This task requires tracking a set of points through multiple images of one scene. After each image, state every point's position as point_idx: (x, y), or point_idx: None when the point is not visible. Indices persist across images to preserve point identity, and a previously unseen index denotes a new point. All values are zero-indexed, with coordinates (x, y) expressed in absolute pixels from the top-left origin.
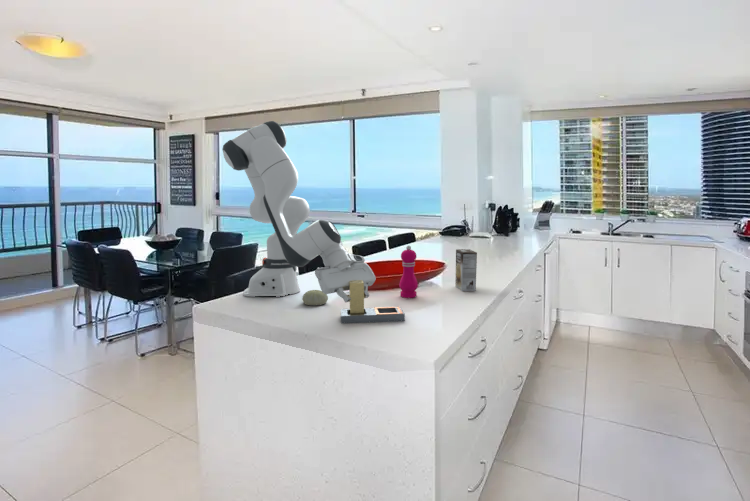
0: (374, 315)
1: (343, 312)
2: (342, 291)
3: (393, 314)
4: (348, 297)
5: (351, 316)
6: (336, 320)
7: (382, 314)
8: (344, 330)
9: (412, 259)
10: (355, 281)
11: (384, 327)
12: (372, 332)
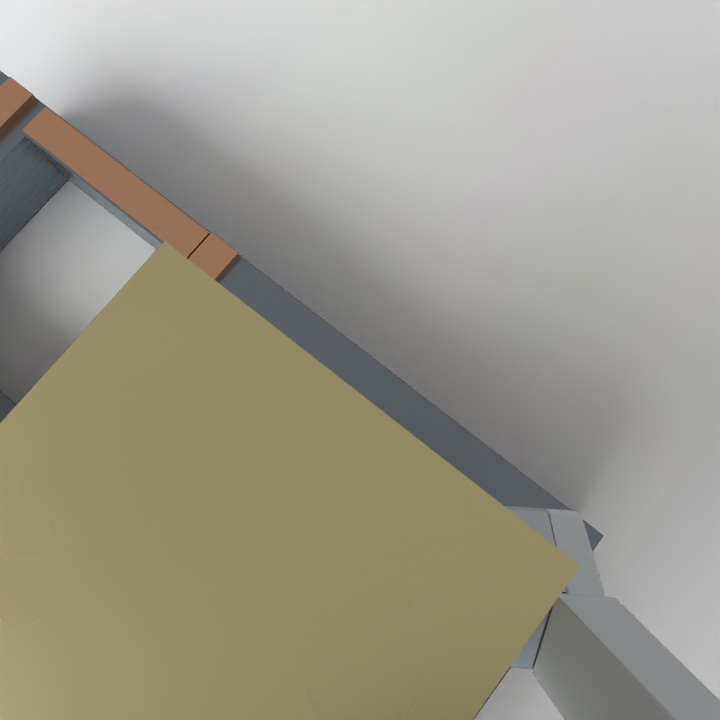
0: (261, 272)
1: None
2: (672, 697)
3: (92, 142)
4: (537, 529)
5: (488, 449)
6: None
7: (184, 215)
8: (689, 320)
9: None
10: (180, 666)
11: (327, 121)
12: (514, 96)
